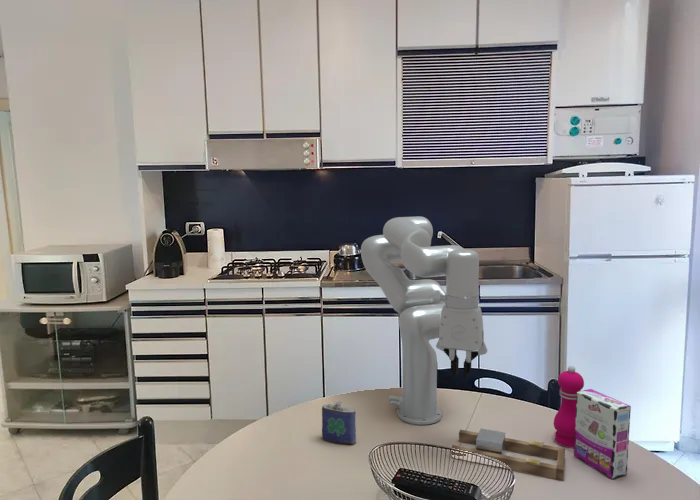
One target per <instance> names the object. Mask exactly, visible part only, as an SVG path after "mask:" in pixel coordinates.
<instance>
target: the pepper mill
mask: <svg viewBox="0 0 700 500" xmlns="http://www.w3.org/2000/svg"><path fill="white" fill-rule="evenodd" d="M557 383H558V386H559V387H560V388H559V396H560V397H561V402H560V403H561V404H560V407H559V408H558V410H557V412H556V414H555V416H554V418H553V426H554V427H553V428H554V429H555V430H556V431H555V432H554V435H555V436H554V441H555V442H556V443H557V444H559V445H561V446H562V447H565V448H566V447H567V448H574V444H575V424H576V423H575V422H576V402H577V392H579V391H582V390H583V388H584V386H585V381H584V378H583V376H582V375H581V374H580V373H579V372H576V367H575V366H573V365H568V366H567V370H564V371H563V372H561V373H560V374H559V375H558V378H557Z"/></svg>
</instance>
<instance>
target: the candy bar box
mask: <svg viewBox="0 0 700 500" xmlns="http://www.w3.org/2000/svg"><path fill="white" fill-rule="evenodd" d="M631 410H632V406H631V405H630V404H627V403H624V402H622V401H621V400H619V399H615V398H613V397H611V396H609V395H606V394H604V393H602V392H599V391H597V390H594V389H592V388H589V389H584V390H580V391H579V392H577V402H576V422H575V423H576V424H575V444H574V447H573V451H574V452H573V456H574V458H576V459H577V460H579V461H581V462H582V463H584V464H587V466H589V467H591V468H593V469H595V470H596V471H598V472H600V473H601V474H603V475H604V476H606V477H608V478H610V479H611V480H613V479H616V478H620V477H624V476H626V475H627V474H628V473H627V472H628V462H629V461H628V458H629V438H630V427H631V426H630V424H631Z"/></svg>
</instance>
